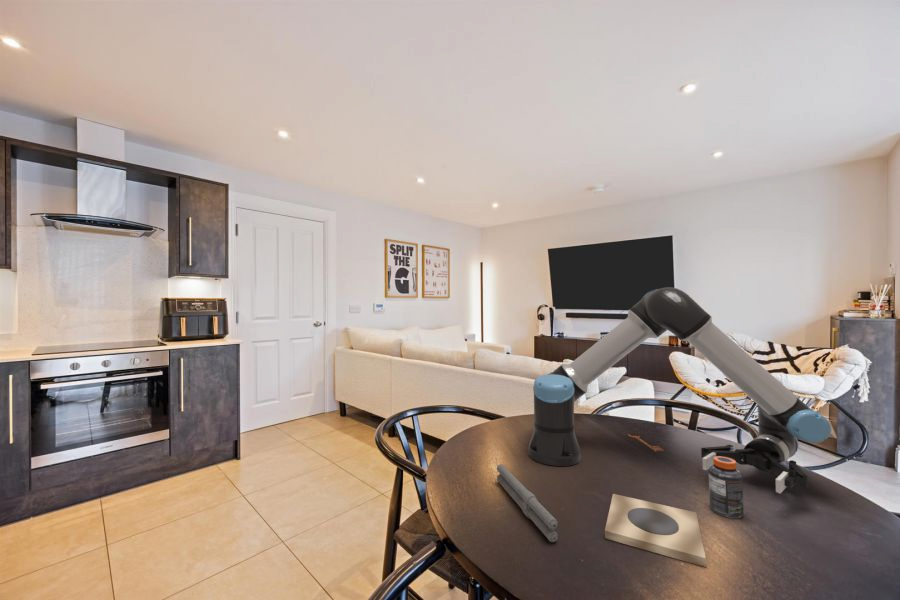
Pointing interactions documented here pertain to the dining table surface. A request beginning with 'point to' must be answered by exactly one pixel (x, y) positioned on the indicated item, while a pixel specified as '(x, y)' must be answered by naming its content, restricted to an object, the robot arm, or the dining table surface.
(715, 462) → the pill bottle
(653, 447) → the key
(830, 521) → the dining table surface
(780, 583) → the dining table surface
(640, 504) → the stand
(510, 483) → the metal rod assembly
